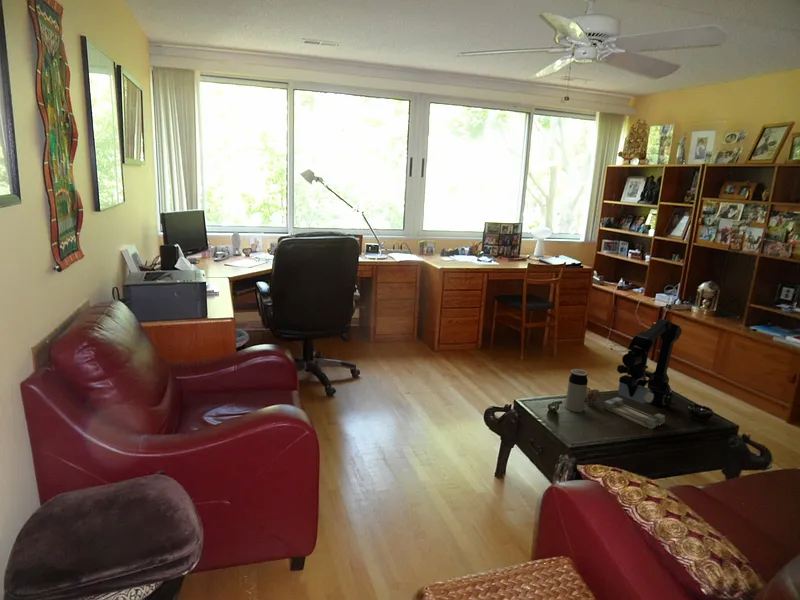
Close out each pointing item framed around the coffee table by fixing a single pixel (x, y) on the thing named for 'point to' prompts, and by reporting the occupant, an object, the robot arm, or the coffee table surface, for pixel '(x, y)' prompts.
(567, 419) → the coffee table surface
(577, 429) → the coffee table surface
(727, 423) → the coffee table surface
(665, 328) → the robot arm
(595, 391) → the lion figurine
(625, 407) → the cradle
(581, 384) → the travel mug
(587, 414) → the coffee table surface
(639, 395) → the slate grey rectangular prism
